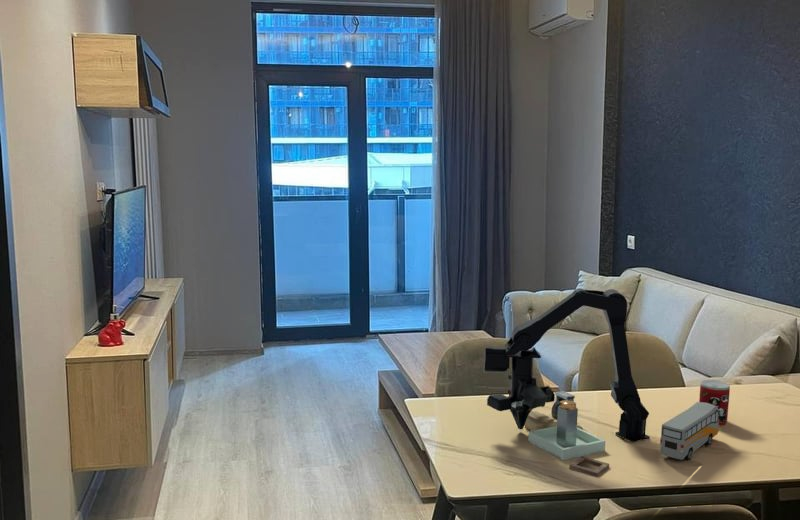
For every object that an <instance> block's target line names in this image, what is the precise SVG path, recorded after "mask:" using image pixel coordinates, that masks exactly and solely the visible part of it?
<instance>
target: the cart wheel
mask: <svg viewBox="0 0 800 520" xmlns="http://www.w3.org/2000/svg"><path fill="white" fill-rule="evenodd" d="M554 394H555V401H554V404H552V406H551V407H552V408H551V416H552V417H554V418H556V419H557V417H558V406H560V401H564V400H568V401H573V402H575V398H576V396H575V395H573V394H572V393H569V392H568V391H567V392H566V391H564V390H560V391H555V392H554Z"/></svg>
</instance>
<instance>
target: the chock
mask: <svg viewBox="0 0 800 520" xmlns="http://www.w3.org/2000/svg"><path fill="white" fill-rule="evenodd" d="M524 426H525V427H527V428H528V429H527V428H526V429H527V430H529V429H530V430H529V431H531V430H532V431H534V430H539V429H544V428H549V427H554V426H557V419H556V418H554V417H552V415H549V414H545V413H542V412H540V411H537V410H536V411H530V413H529V415H528V417H527V420H526V422H525V425H524ZM525 427H524V428H525Z"/></svg>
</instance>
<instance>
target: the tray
mask: <svg viewBox="0 0 800 520" xmlns="http://www.w3.org/2000/svg"><path fill="white" fill-rule="evenodd" d="M556 439H557V426H554V427H549V428H544V429H539V430H534V431H531V430H529V431H528V443H531V444H533V445H534V446H536V447H537V448H540V449H542V450H543V451H545V452H547V453H549V454H551V455H552V456H554V457H556V458H558V459H559V460H561V461H566V460H571V459H575V458H580V457H581V456H583V457H586V456H588V455H594V454H596V453H597V454H598V453H602V452H605V451H606V440H604V439H603V438H601V437H599V436H596V435H594V434H592V433H589V432H588V431H586V430H584V429H582V428H580V427H578V426H577V436H576V446H572V447H567V448H565V447H563V446H561V445H559V444H557V443H556Z"/></svg>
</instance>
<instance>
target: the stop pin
mask: <svg viewBox="0 0 800 520" xmlns="http://www.w3.org/2000/svg"><path fill="white" fill-rule="evenodd" d="M578 412H579V410H578V408H577V402H576V401H574V402H573V401H568V400H564V401H560V406H558V417H557V439H556V443H557V444H559V445H561V446H563V447H565V448H567V447H572V446H576V436H577V427H578Z"/></svg>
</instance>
